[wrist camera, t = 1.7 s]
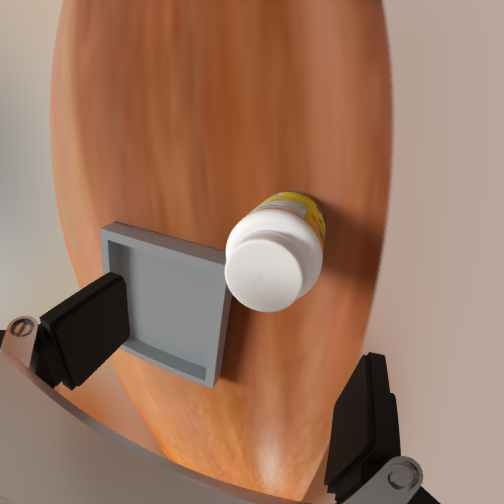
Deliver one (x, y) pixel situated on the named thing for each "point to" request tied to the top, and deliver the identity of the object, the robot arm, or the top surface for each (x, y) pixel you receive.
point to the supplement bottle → (276, 252)
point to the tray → (171, 300)
